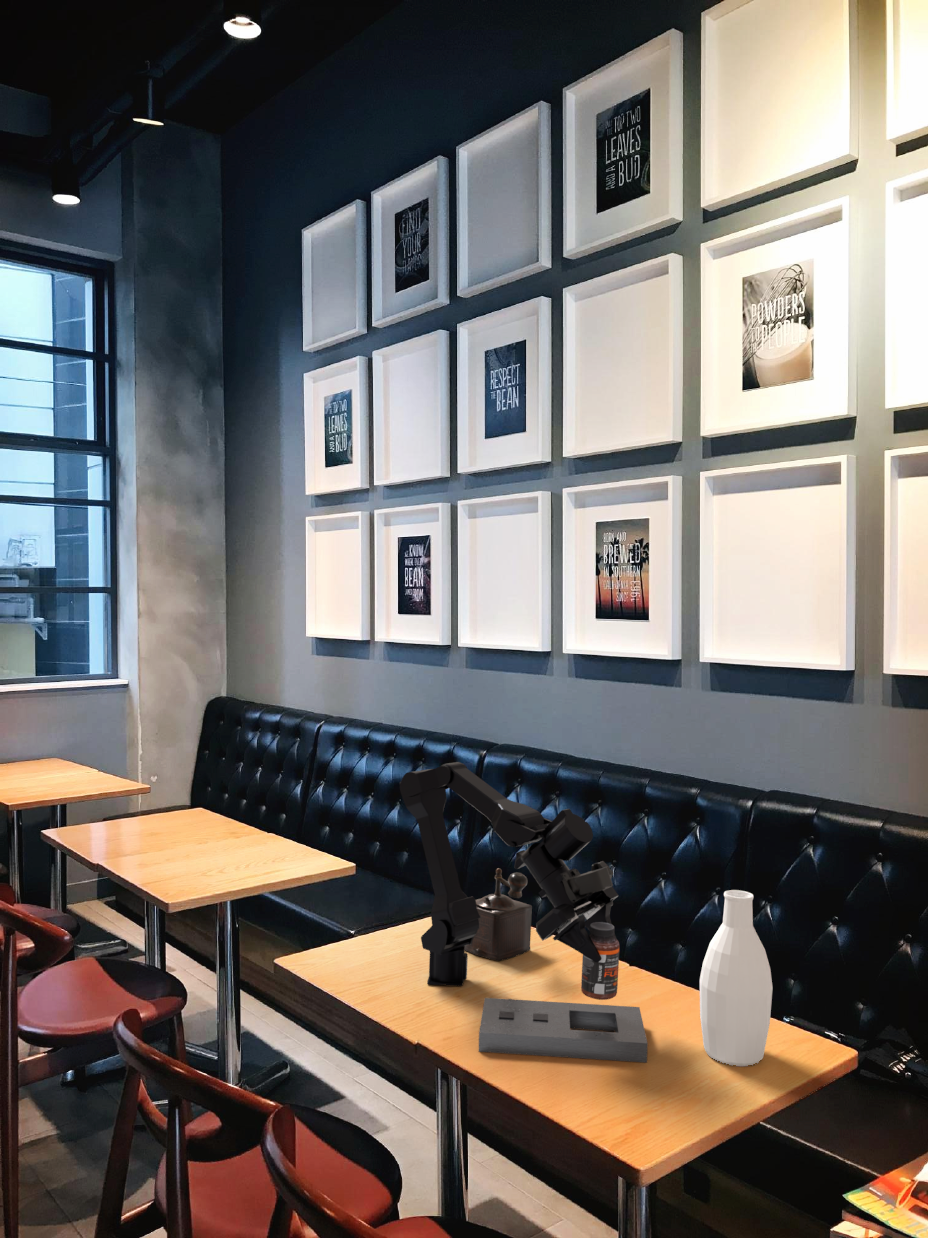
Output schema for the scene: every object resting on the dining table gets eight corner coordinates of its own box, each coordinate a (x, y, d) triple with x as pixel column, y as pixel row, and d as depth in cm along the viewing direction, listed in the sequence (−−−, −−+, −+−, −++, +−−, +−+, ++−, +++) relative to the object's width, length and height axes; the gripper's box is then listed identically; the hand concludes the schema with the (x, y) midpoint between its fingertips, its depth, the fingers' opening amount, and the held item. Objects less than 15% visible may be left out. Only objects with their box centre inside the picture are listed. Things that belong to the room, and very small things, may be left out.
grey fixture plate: (478, 1051, 157) (479, 1031, 157) (484, 1015, 171) (484, 996, 171) (646, 1062, 155) (647, 1042, 155) (638, 1025, 169) (639, 1006, 168)
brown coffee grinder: (457, 950, 203) (459, 861, 202) (493, 937, 211) (495, 852, 211) (515, 971, 192) (518, 877, 192) (551, 957, 200) (554, 867, 200)
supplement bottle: (607, 1004, 160) (610, 934, 160) (574, 995, 164) (577, 926, 164) (623, 993, 166) (626, 925, 165) (590, 984, 169) (593, 917, 168)
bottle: (767, 1043, 163) (772, 887, 162) (773, 1074, 152) (779, 907, 151) (696, 1035, 165) (701, 881, 165) (698, 1065, 154) (703, 900, 154)
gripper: (555, 859, 159) (614, 944, 153) (610, 838, 174) (666, 915, 168) (511, 898, 164) (567, 982, 157) (568, 874, 179) (622, 950, 173)
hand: (608, 956), depth 164 cm, fingers closed on supplement bottle, 6 cm apart
